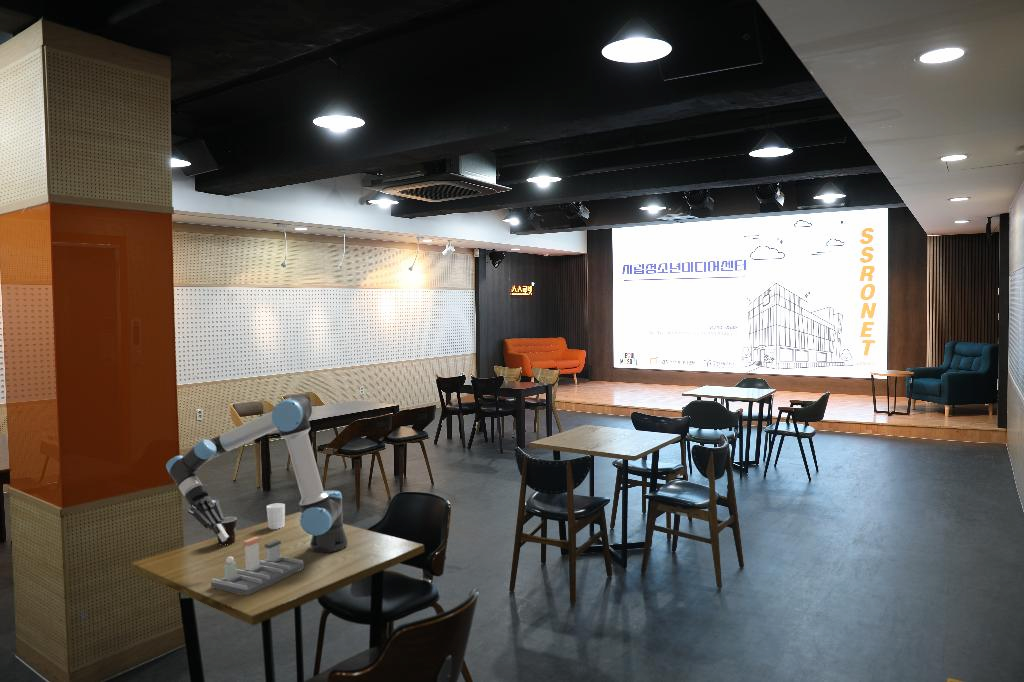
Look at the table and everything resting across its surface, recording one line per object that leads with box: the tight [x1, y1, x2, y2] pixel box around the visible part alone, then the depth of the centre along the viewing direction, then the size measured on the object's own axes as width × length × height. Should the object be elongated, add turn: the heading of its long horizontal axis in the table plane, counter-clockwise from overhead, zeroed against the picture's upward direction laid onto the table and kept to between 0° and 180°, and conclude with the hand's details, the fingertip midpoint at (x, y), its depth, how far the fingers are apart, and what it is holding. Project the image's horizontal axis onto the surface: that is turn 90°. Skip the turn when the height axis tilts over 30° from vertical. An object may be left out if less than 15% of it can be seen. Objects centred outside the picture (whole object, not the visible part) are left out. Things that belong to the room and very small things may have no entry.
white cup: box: [266, 502, 286, 530], centre depth 314 cm, size 8×8×10 cm
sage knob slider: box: [221, 555, 241, 582], centre depth 246 cm, size 4×5×8 cm
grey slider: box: [264, 539, 282, 563], centre depth 264 cm, size 4×6×7 cm
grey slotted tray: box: [210, 555, 305, 597], centre depth 254 cm, size 18×27×3 cm, turn 153°
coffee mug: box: [216, 516, 237, 546], centre depth 295 cm, size 12×9×10 cm
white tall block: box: [242, 536, 262, 572], centre depth 255 cm, size 4×6×12 cm
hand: (225, 539), depth 260 cm, fingers closed
